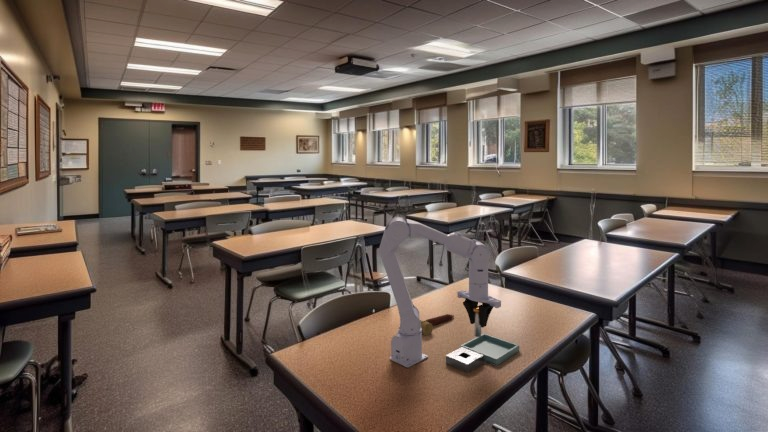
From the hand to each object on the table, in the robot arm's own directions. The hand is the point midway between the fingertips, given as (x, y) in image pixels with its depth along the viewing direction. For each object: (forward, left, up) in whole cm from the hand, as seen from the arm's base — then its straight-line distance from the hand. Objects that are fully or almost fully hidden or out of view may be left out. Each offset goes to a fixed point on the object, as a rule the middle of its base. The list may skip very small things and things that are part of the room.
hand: (478, 324), depth 127 cm
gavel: (+11, +26, -11) cm, 31 cm away
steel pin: (0, 0, -3) cm, 3 cm away
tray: (+6, 0, -11) cm, 12 cm away
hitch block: (-6, +1, -11) cm, 12 cm away
